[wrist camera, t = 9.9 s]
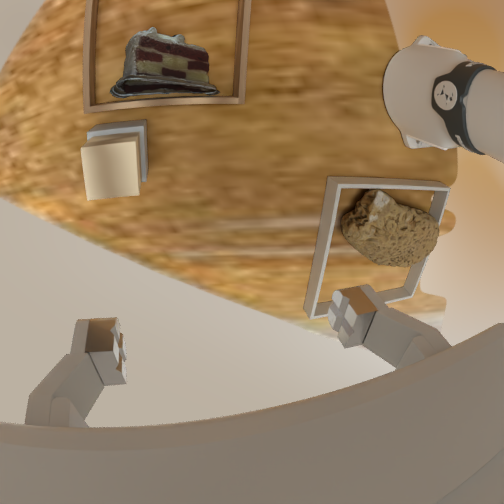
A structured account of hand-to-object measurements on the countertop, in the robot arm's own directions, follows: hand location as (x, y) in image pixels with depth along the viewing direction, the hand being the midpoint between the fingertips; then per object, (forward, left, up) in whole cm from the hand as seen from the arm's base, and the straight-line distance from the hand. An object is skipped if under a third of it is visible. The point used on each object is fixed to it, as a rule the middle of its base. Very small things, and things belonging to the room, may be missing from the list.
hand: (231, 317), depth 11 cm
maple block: (+7, 0, -24) cm, 25 cm away
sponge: (-33, +13, -30) cm, 46 cm away
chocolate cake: (+2, -10, -30) cm, 31 cm away
